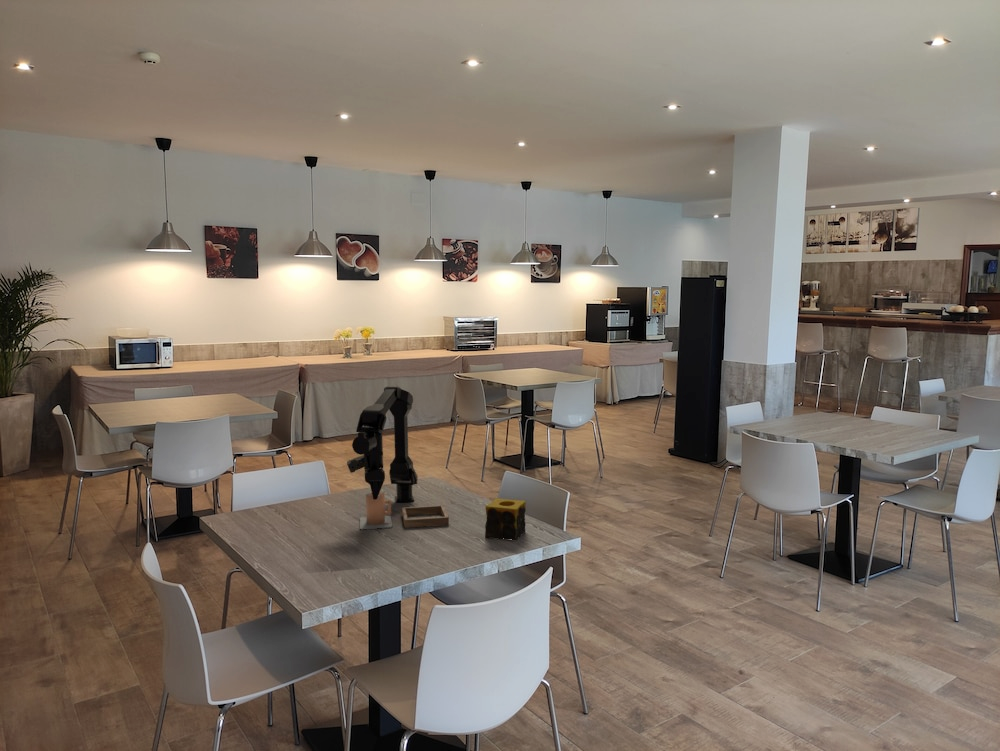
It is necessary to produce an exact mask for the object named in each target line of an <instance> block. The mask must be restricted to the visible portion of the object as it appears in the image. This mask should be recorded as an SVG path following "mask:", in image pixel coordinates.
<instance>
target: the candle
mask: <svg viewBox="0 0 1000 751" xmlns="http://www.w3.org/2000/svg"><path fill="white" fill-rule="evenodd" d="M526 506H527V505H526V500H520V499H519V500H518V499H506V498H494V499H493V500H492V501H491V502H490V503H488V504H487V505H486V506H485V515H486V522H485V524H484V525H485V526H484V527H485V531H484V537H485V538H486V539H487V538H488V539H493V538H498V539H497V540H502V539H503V538H504V539H512V540H516V541H517V540H518V539H519V538H521V537H522V535H523V534H524V533H525V532H526V524H527V523H526V510H527V509H526ZM521 534H522V535H521ZM518 537H519V538H518ZM517 538H518V539H517Z"/></svg>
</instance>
